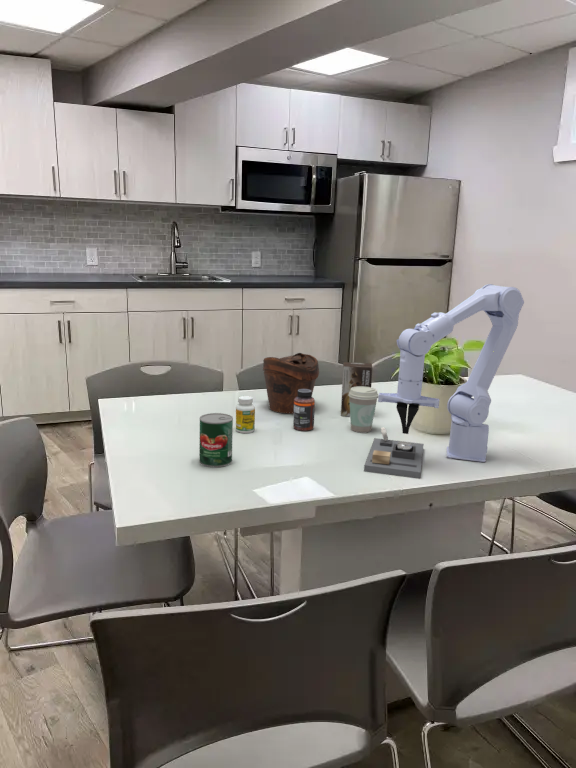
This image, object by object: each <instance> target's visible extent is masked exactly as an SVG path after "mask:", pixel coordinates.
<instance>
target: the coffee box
mask: <svg viewBox="0 0 576 768" xmlns="http://www.w3.org/2000/svg"><path fill="white" fill-rule="evenodd" d="M342 364H343V365H342V382H341V383H342V385H341V403H340V416H341V417H350V399H349V392H350V389H351V388H352V387H357V386H364V387H371V388H372V381H373V364H372V362H371V363H370V362H354V361H353V362H349V361H348V362H347V361H343V363H342Z"/></svg>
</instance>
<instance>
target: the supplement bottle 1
mask: <svg viewBox="0 0 576 768" xmlns="http://www.w3.org/2000/svg"><path fill="white" fill-rule="evenodd" d="M237 400H238V401H237V402H238V404H237V405H235V431H236V432H237V433H241V434H250V433H253V432H254V431H255V429H256V428H255V427H256V425H255V424H256V423H255V420H256V419H255V417H256V407H255V406H256V405H254V404H253V401H254V398H253V397H252V396H250V395H249V396H248V395H241V396H239V397H238V399H237Z"/></svg>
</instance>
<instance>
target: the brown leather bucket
mask: <svg viewBox="0 0 576 768" xmlns="http://www.w3.org/2000/svg"><path fill="white" fill-rule="evenodd" d="M262 364H263V367H262V371H263V375H264V376H263V377H264V381H265V382H264V383H265V387H266V389H265V390H266V393H267V394H266V395H267V399H268V405H269V406H268V407H269V409H270V410H271V411H273V412H275V413H279V414H292V415H294V399H295V398H296V397H297V396H298V390H299V389H309V390H311V391H312V395H311V396H312V397H313V392H314V388H315V385H316V382H317V381H316V380H317V379H318V377H319V375H320V368H319V362H318V359H317V358H316V357H315V356H313V355H311V354H305V353H302V352H297V353H295V354H293V355H288V356H284V357H273V356H269V357H267V356H266V357H265V358H263V361H262Z"/></svg>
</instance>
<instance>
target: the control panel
mask: <svg viewBox="0 0 576 768" xmlns="http://www.w3.org/2000/svg"><path fill="white" fill-rule="evenodd" d="M398 442H401V440H394V439H388V440H384V439H383V438H376V437H374V439H373V441H372V443H371V447H370V448H369V451H368V455H367V456H366V460H365V462H364V465H363V472H367V473H368V472H369V473H374V474H383V475H389V476H390V475H392V476H399V477H407V478H415V479H420V478H421V472H422V463H423V455H424V454H423V453H424V443H421V442H419V443H418V442H411V441H408V442H409V443H411V444H412V451H411V452H407V451H398V450H397V443H398ZM374 450H377V451H385V452H391V455H390V462H389V465H388V464H380V463H372V456H373V452H374Z"/></svg>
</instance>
